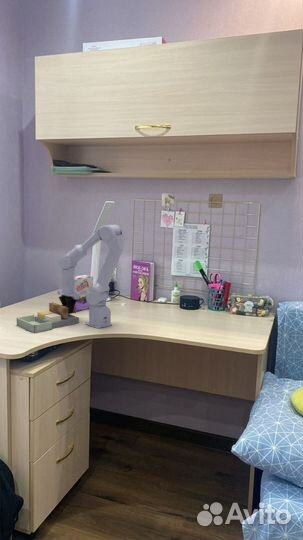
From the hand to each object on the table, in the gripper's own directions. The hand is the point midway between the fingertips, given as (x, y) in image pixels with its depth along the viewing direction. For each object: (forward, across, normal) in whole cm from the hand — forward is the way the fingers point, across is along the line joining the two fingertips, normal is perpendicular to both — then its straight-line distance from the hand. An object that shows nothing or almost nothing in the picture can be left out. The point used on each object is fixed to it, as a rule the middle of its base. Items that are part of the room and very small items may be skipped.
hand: (68, 312), depth 191 cm
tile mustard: (+1, -3, -10) cm, 10 cm away
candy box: (+4, -14, +15) cm, 21 cm away
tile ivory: (+1, +3, -10) cm, 10 cm away
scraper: (0, 0, -1) cm, 2 cm away
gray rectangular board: (+4, 0, -10) cm, 11 cm away
